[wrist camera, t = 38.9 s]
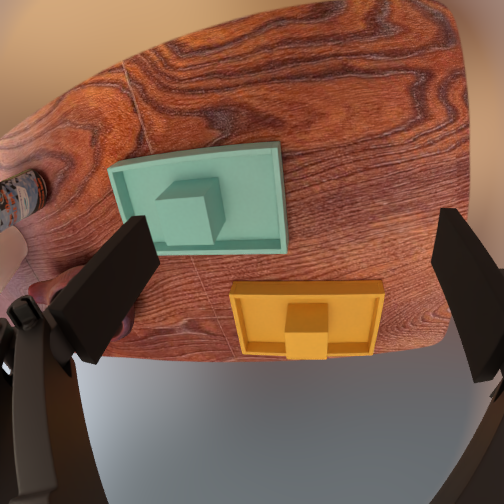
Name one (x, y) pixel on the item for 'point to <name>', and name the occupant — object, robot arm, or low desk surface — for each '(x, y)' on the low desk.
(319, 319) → the ochre block
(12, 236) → the cup
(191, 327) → the low desk surface
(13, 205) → the beverage can
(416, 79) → the low desk surface
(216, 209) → the teal block
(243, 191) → the teal tray
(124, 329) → the bowl
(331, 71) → the low desk surface
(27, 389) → the robot arm
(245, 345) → the ochre tray
